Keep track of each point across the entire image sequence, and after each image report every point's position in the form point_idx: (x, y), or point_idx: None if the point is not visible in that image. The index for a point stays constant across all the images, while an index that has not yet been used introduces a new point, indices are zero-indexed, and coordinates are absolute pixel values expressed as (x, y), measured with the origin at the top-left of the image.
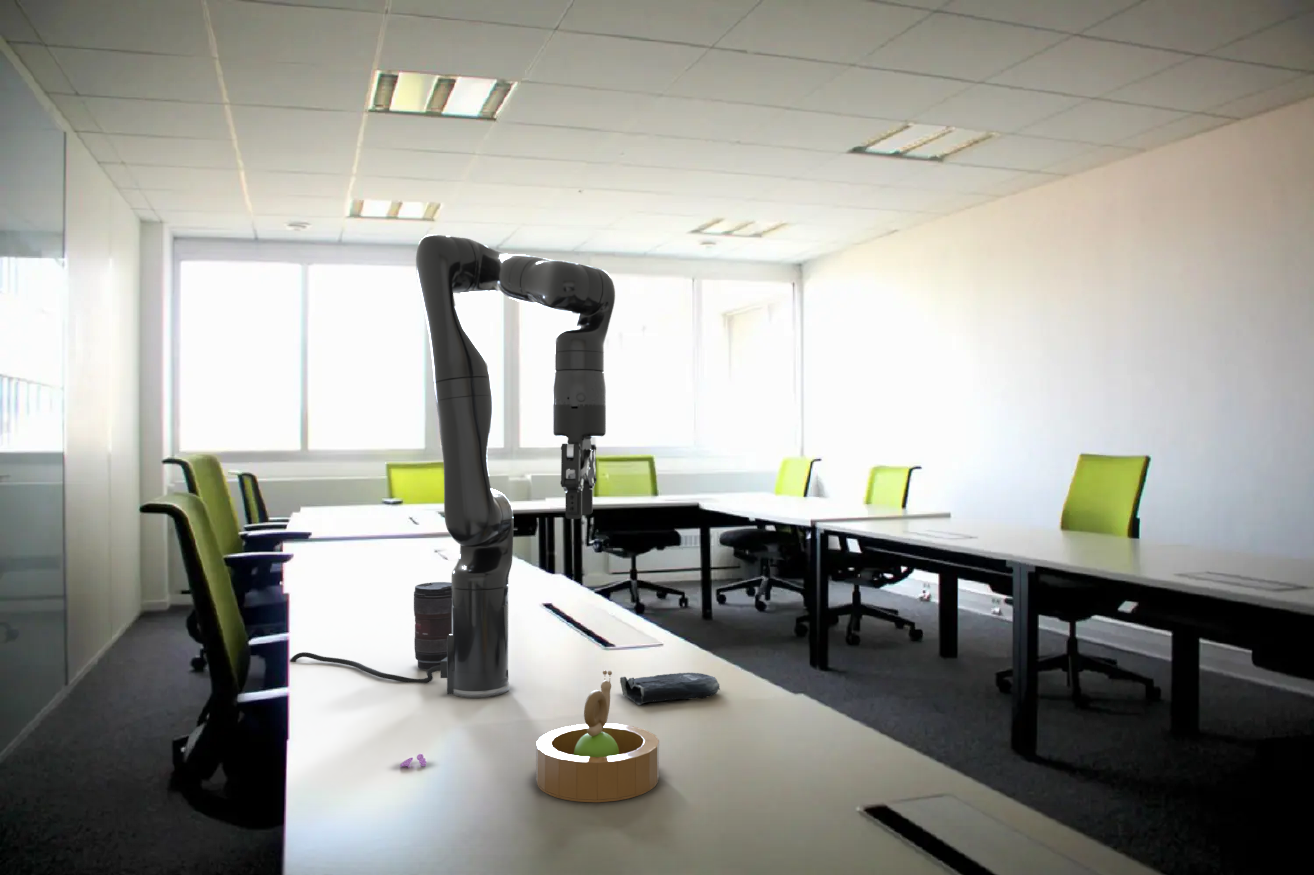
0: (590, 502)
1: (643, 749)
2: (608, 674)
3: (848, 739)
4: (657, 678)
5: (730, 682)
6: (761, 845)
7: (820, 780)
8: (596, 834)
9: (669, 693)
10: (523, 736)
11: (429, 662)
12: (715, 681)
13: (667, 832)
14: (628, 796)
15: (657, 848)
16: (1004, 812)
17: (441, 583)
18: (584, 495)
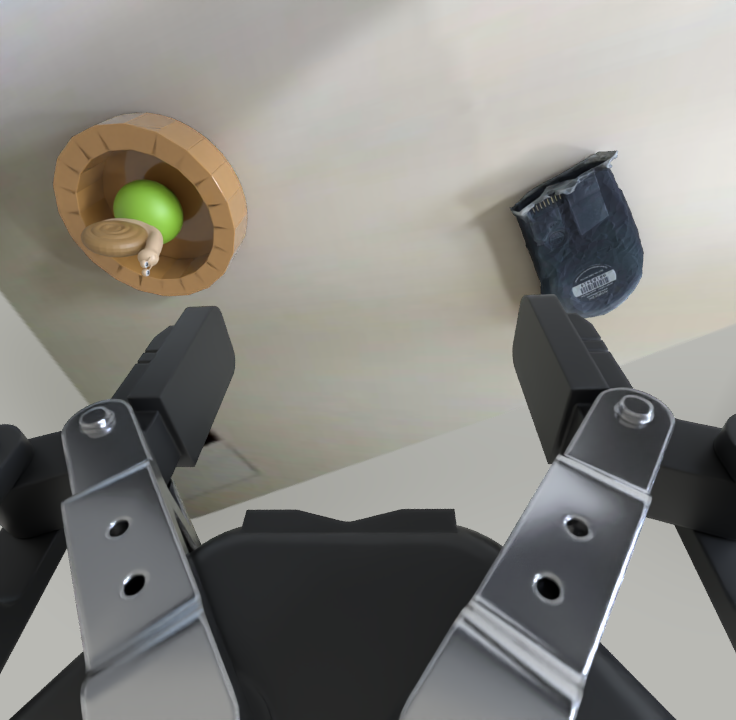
0: (529, 395)
1: (146, 282)
2: (143, 269)
3: (382, 430)
4: (598, 228)
5: (653, 319)
6: (92, 366)
7: (256, 406)
8: (23, 235)
9: (529, 252)
10: (313, 7)
11: None
12: None
13: (71, 298)
14: None
15: (34, 294)
16: (235, 492)
17: None
18: (547, 398)
